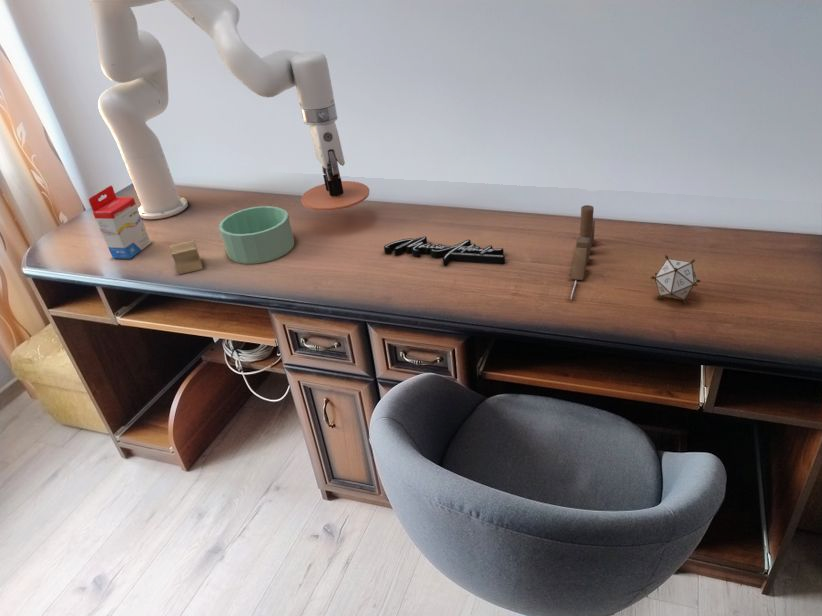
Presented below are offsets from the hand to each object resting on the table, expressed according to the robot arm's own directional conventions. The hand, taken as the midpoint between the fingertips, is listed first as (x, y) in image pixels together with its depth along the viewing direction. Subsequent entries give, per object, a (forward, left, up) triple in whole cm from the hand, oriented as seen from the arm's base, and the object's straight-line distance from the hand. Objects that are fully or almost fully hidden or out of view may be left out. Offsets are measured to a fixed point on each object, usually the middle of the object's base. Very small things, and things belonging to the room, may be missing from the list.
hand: (334, 191), depth 151 cm
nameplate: (+29, +16, -8) cm, 34 cm away
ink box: (-11, -48, -8) cm, 50 cm away
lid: (0, 0, -1) cm, 1 cm away
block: (+5, -36, -8) cm, 37 cm away
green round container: (+4, -20, -8) cm, 22 cm away
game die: (+67, +47, -8) cm, 82 cm away
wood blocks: (+49, +38, -8) cm, 62 cm away
